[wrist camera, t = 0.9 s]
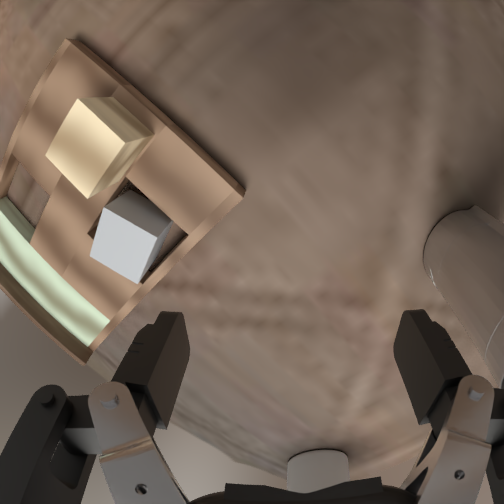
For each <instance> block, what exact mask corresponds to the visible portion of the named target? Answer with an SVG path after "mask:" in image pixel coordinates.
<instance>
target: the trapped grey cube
mask: <svg viewBox="0 0 504 504" xmlns="http://www.w3.org/2000/svg"><path fill="white" fill-rule="evenodd" d="M172 223H173V220H172V219H171V218H170V217H168V216H167V215H166V214H165V213H164V212H163V211H162V210H161V209H160V208H159V207H158V206H157V205H155V204H154V203H153V202H152V201H150V200H148V199H147V198H145V197H143V196H141V195H139V194H138V193H136V192H134V191H132V190H129V191H127V192H126V193H124V194H122V195H121V196H119V197H118V198H116V199H115V200H113V201H112V202H110V203H109V204H108V205H106V206H105V207H104V208H103V211H102V214H101V217H100V221H99V224H98V227H97V231H96V234H95V238H94V241H93V245H92V248H91V252H90V257H92V258H94V259H95V260H97V261H99V262H100V263H102V264H104V265H105V266H107V267H109V268H110V269H112V270H114V271H115V272H117V273H119V274H120V275H122V276H124V277H126V278H127V279H129V280H131V281H133V282H134V283H136V284H138V283H139V282H140V280H141V279H142V277H143V276H144V275H145V273H146V272H147V270H148V269H149V268H150V266H151V265H152V263H153V262H154V261H155V259H156V258H157V256H158V254H159V251H160V249H161V247H162V245H163V243H164V241H165V238H166V236H167V234H168V232H169V230H170V228H171V226H172Z"/></svg>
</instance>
